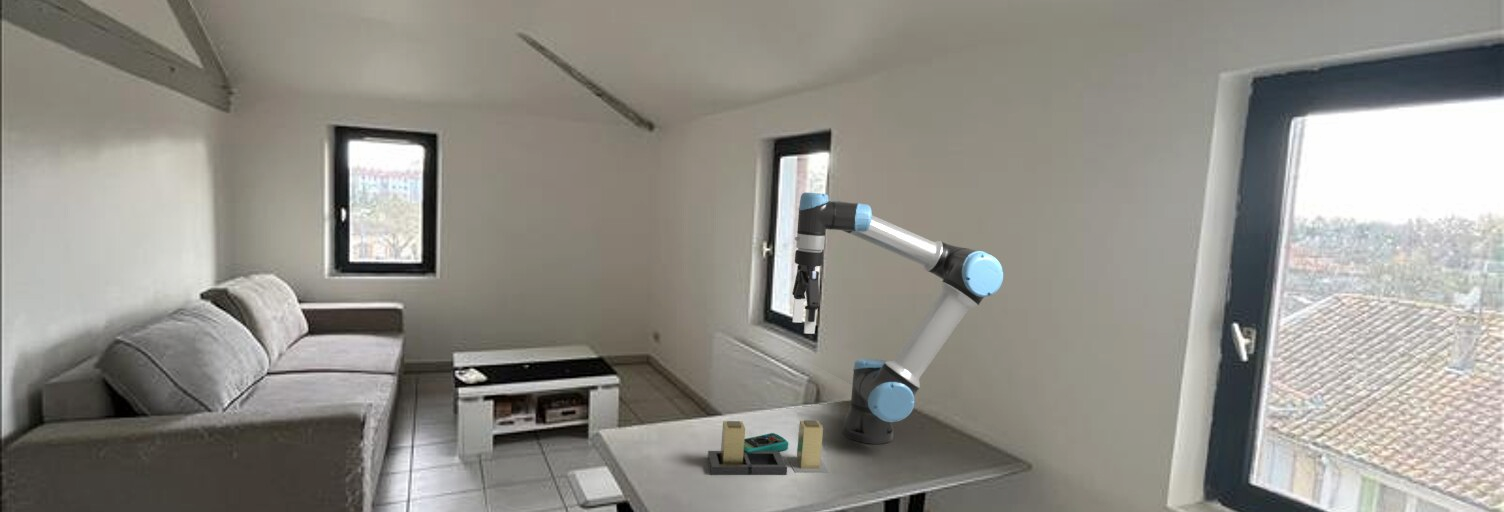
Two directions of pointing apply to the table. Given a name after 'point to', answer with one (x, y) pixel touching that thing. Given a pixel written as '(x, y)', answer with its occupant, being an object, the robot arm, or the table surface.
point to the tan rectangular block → (809, 444)
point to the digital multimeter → (765, 443)
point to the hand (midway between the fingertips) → (802, 327)
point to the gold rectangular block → (732, 443)
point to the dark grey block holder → (749, 464)
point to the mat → (799, 470)
